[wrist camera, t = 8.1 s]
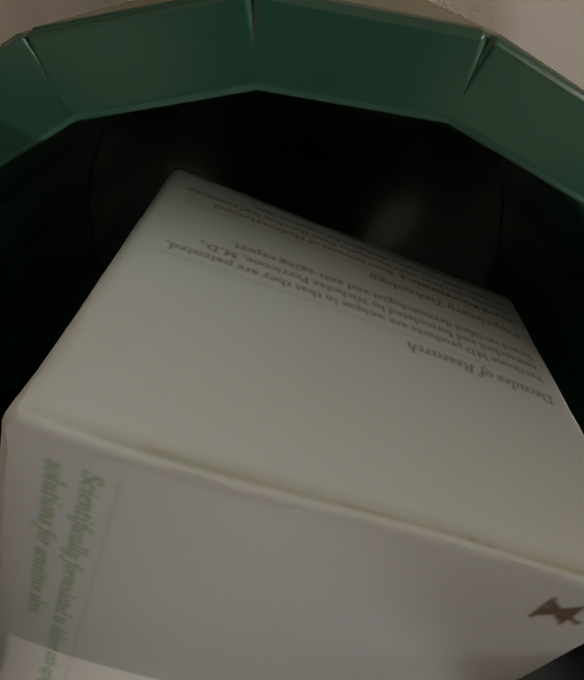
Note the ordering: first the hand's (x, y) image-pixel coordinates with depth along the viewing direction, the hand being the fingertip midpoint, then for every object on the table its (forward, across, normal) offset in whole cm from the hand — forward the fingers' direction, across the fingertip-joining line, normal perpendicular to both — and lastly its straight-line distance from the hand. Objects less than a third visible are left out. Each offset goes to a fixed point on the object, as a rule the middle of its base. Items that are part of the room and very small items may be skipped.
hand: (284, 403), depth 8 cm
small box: (+1, 0, 0) cm, 1 cm away
